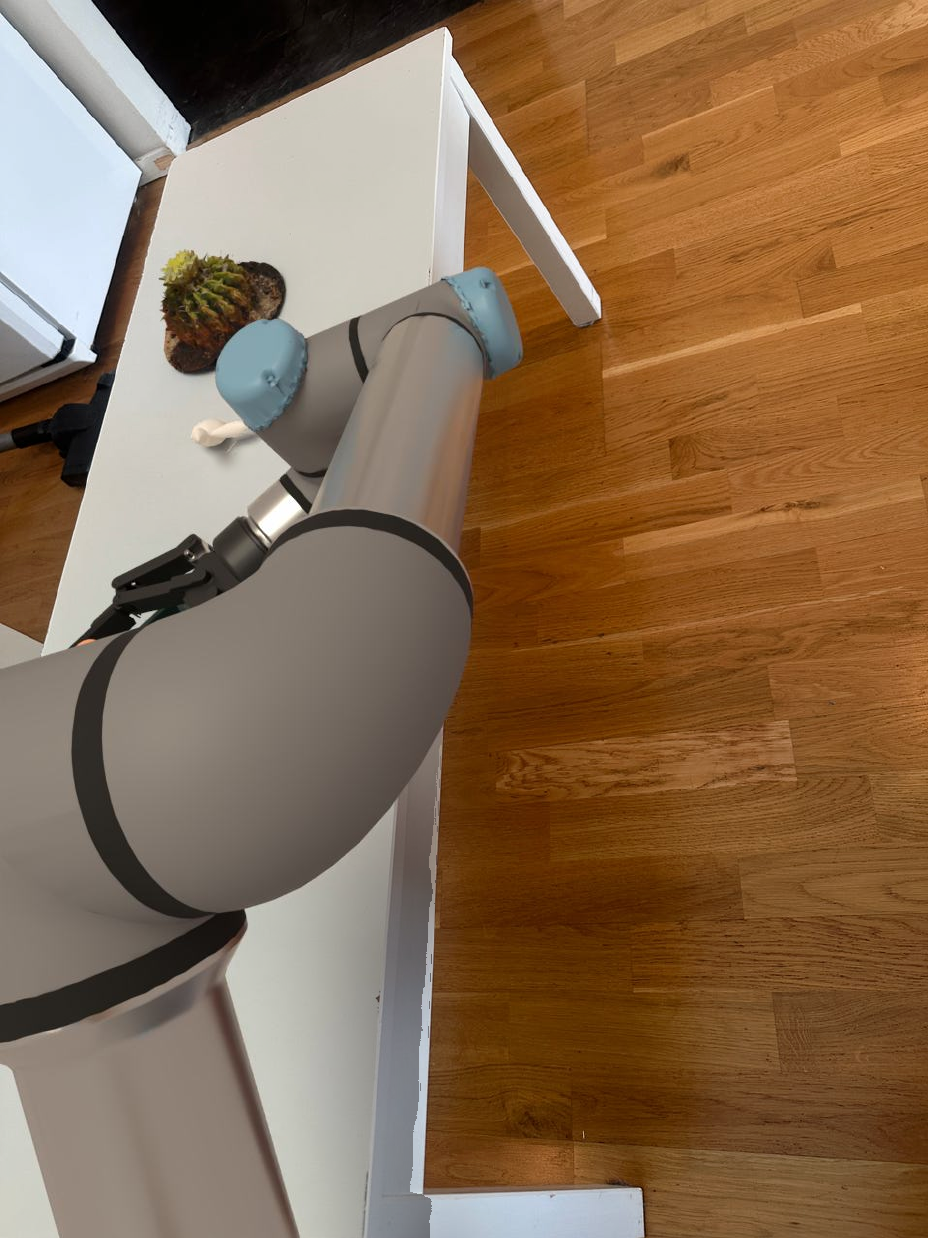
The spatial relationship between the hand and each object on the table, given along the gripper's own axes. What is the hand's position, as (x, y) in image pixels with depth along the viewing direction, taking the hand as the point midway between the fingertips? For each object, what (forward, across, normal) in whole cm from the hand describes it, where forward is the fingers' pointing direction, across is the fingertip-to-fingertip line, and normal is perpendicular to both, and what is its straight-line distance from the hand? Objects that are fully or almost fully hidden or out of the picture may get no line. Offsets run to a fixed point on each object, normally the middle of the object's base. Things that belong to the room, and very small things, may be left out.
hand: (94, 708), depth 75 cm
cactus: (-32, +40, -7) cm, 52 cm away
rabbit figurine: (-23, +22, -7) cm, 33 cm away
